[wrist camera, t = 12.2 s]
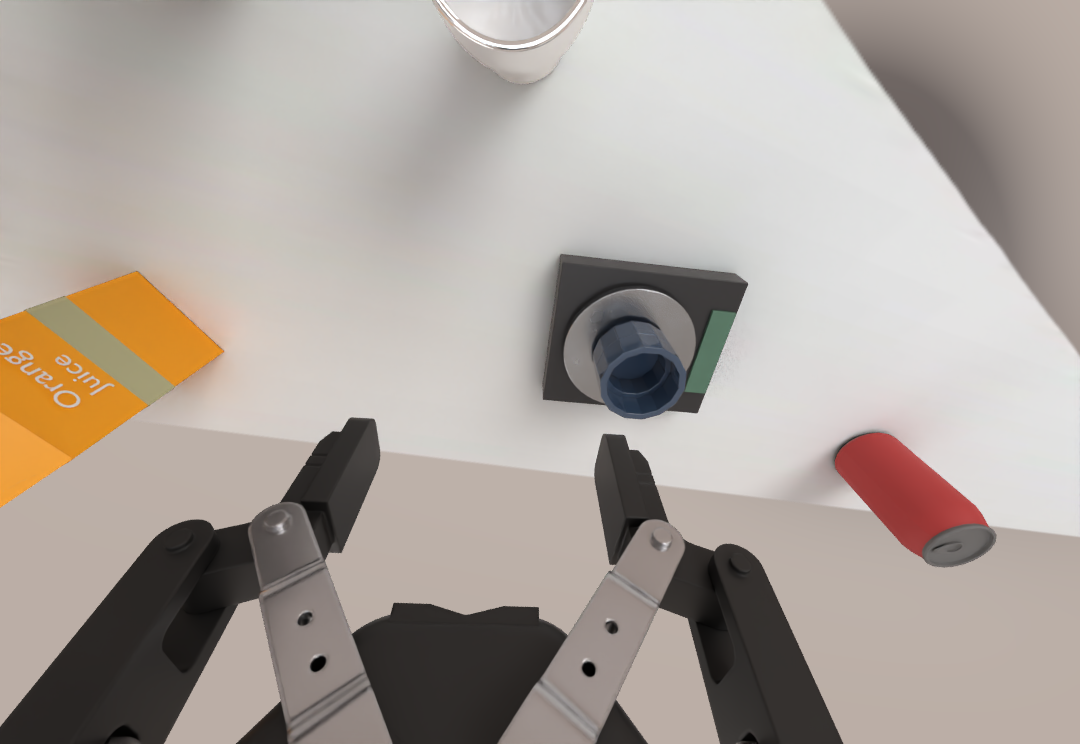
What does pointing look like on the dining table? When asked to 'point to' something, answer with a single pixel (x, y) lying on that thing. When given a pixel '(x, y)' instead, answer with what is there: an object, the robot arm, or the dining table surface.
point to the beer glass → (515, 33)
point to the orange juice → (86, 372)
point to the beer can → (914, 501)
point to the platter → (617, 311)
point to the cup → (638, 371)
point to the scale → (696, 290)
